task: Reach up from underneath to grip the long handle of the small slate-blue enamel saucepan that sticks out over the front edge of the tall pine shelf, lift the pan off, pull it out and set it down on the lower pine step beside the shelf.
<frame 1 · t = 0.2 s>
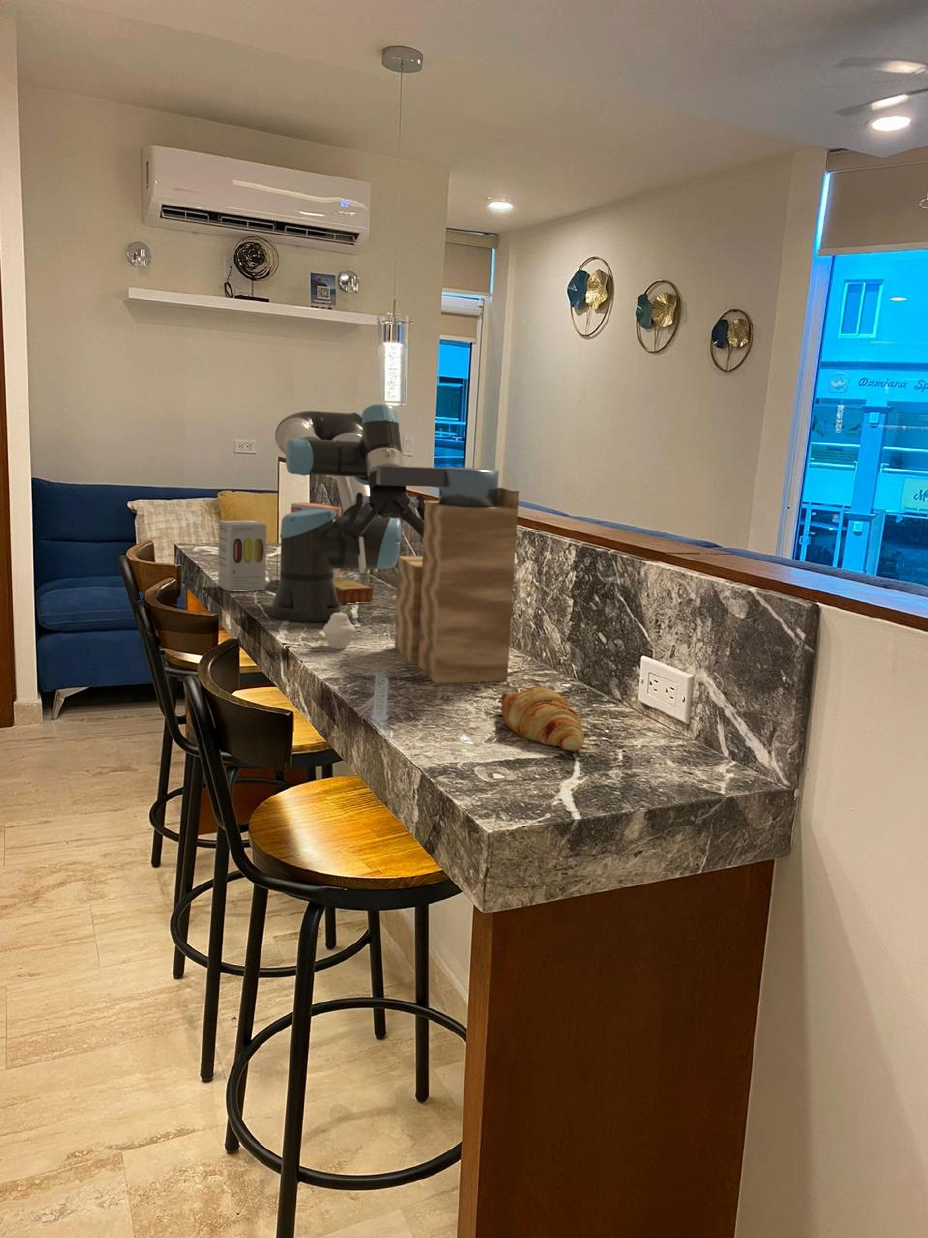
hand: (397, 570, 183), 15 cm above the table, tool tilted 35°, fingers open, 13 cm apart
pine stand: (449, 664, 173), on the table
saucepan: (467, 504, 161), point 30 cm above the table, touching pine stand
supplement box: (241, 589, 236), on the table
white ridged rounded piece: (338, 648, 181), on the table
carton: (343, 600, 231), on the table
croissant: (537, 734, 137), on the table
cracker box: (314, 583, 249), on the table
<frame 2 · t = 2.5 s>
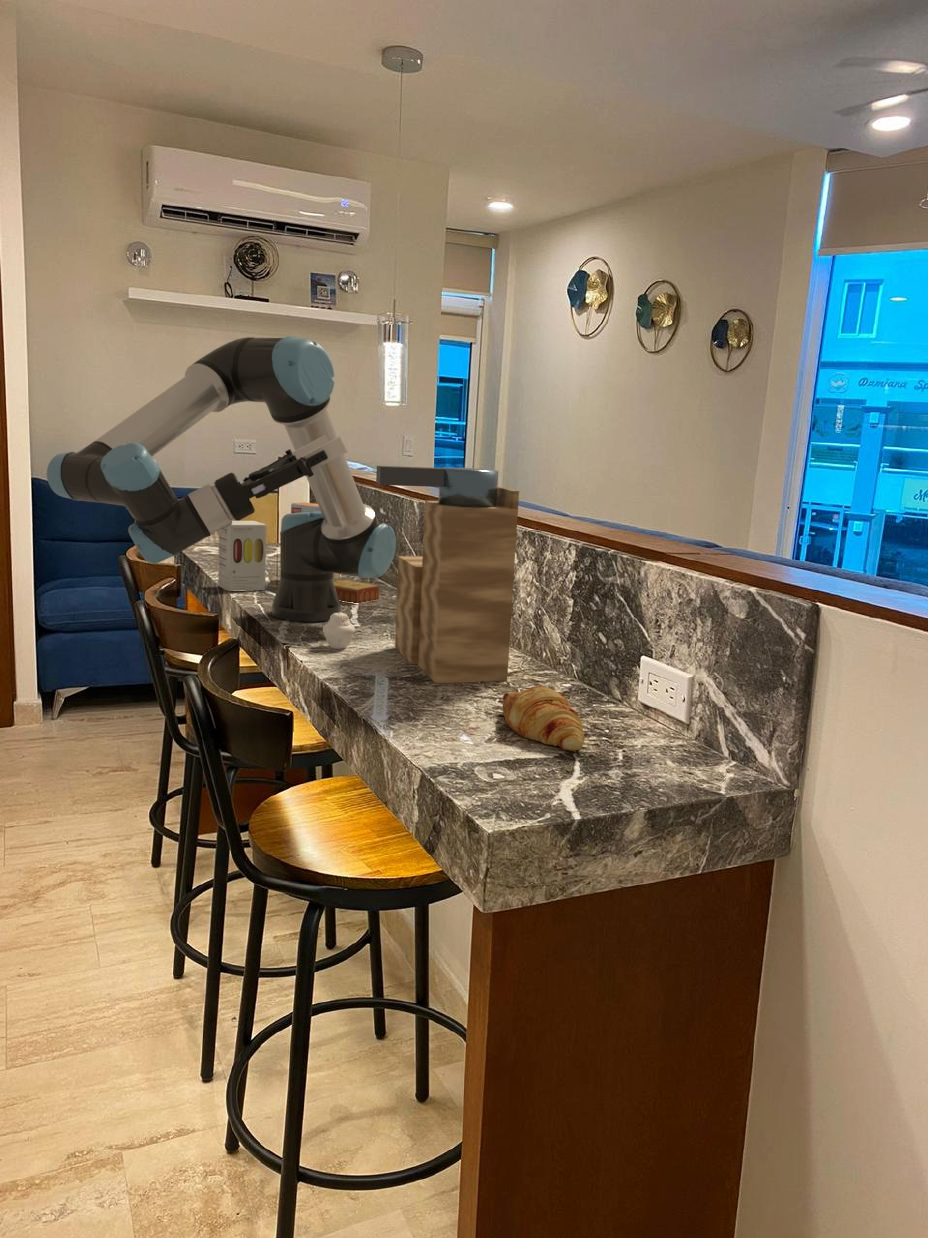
hand: (336, 442, 158), 39 cm above the table, tool pointing upward, fingers open, 13 cm apart
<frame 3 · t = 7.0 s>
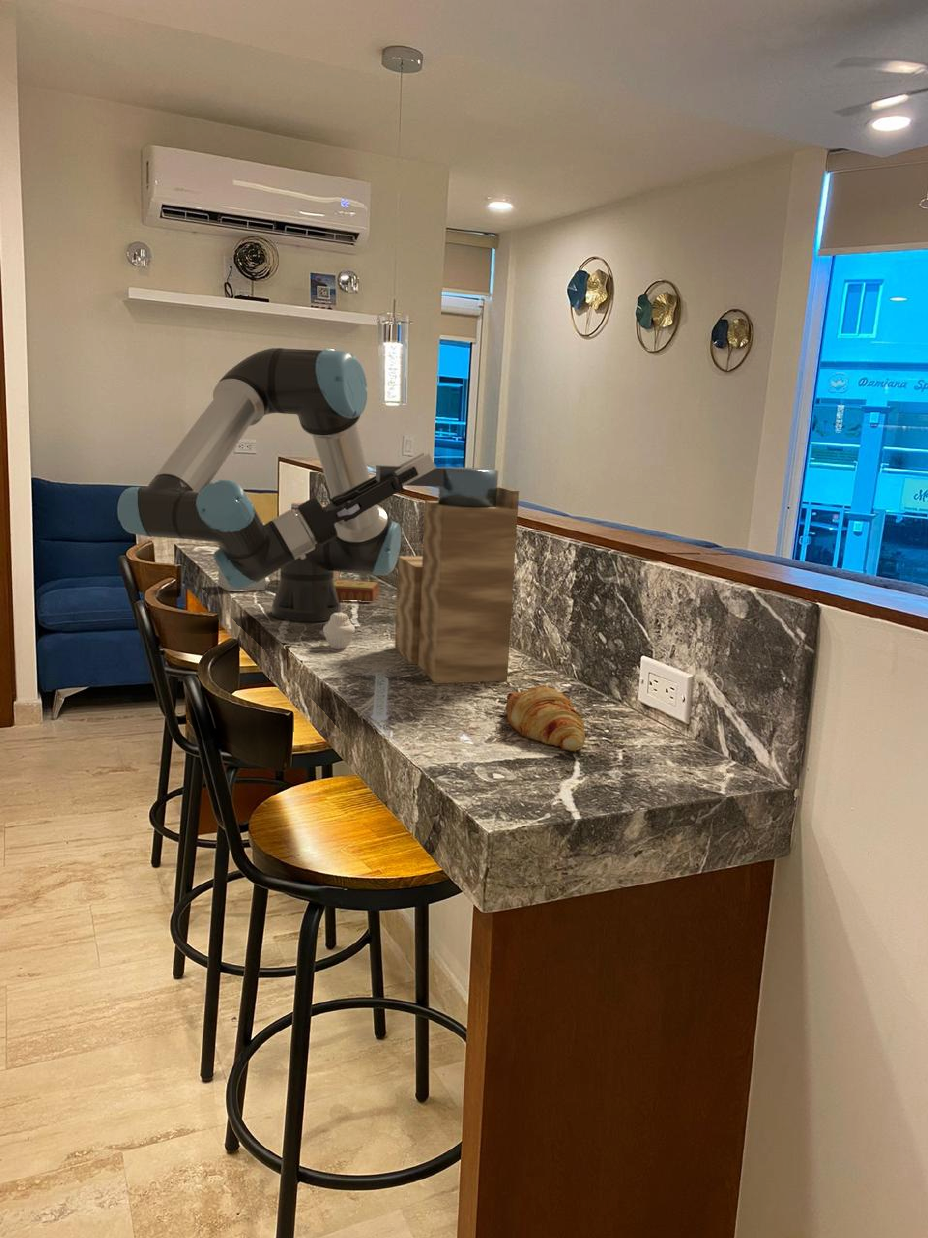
hand: (428, 460, 157), 37 cm above the table, tool pointing upward, fingers closed on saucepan, 3 cm apart
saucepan: (467, 504, 161), point 30 cm above the table, touching gripper
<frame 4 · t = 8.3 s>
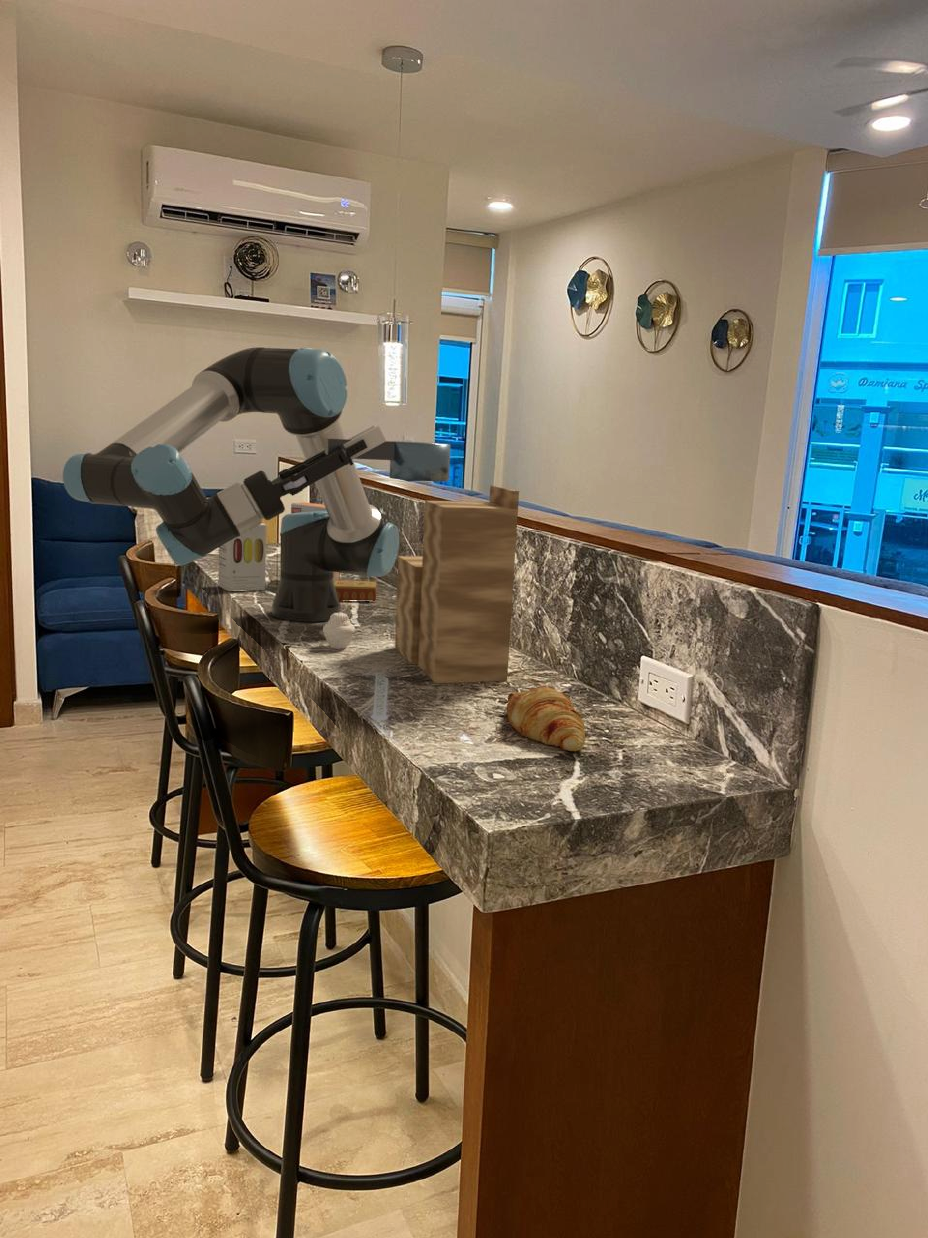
hand: (379, 433, 154), 41 cm above the table, tool pointing upward, fingers closed on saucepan, 3 cm apart
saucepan: (419, 478, 158), point 34 cm above the table, touching gripper
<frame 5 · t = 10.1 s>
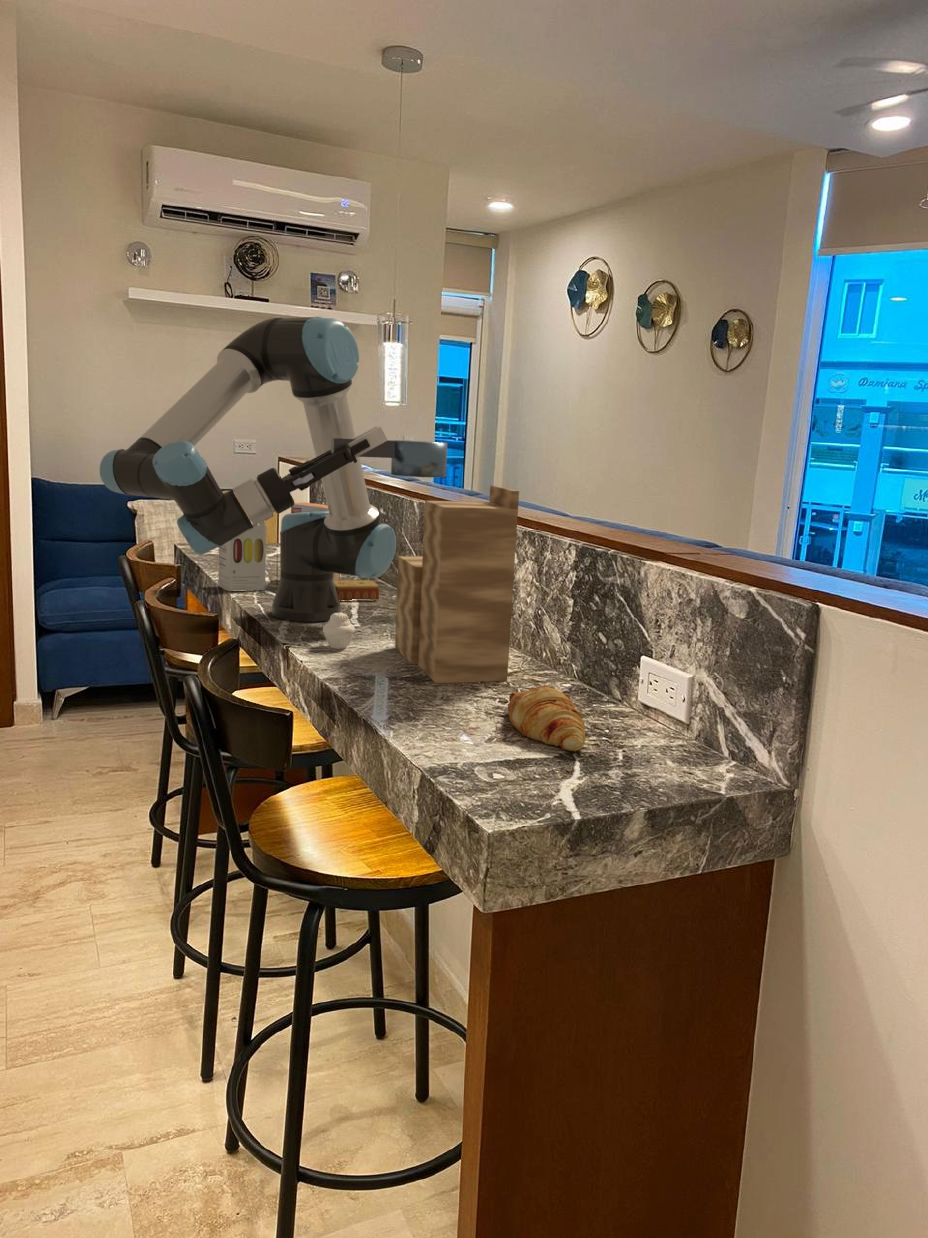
hand: (381, 433, 167), 41 cm above the table, tool pointing upward, fingers closed on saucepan, 3 cm apart
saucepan: (418, 475, 170), point 34 cm above the table, touching gripper
when the fingers open (26 cm above the table, at t = 13.6 s): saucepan drops 1 cm, resting on pine stand.
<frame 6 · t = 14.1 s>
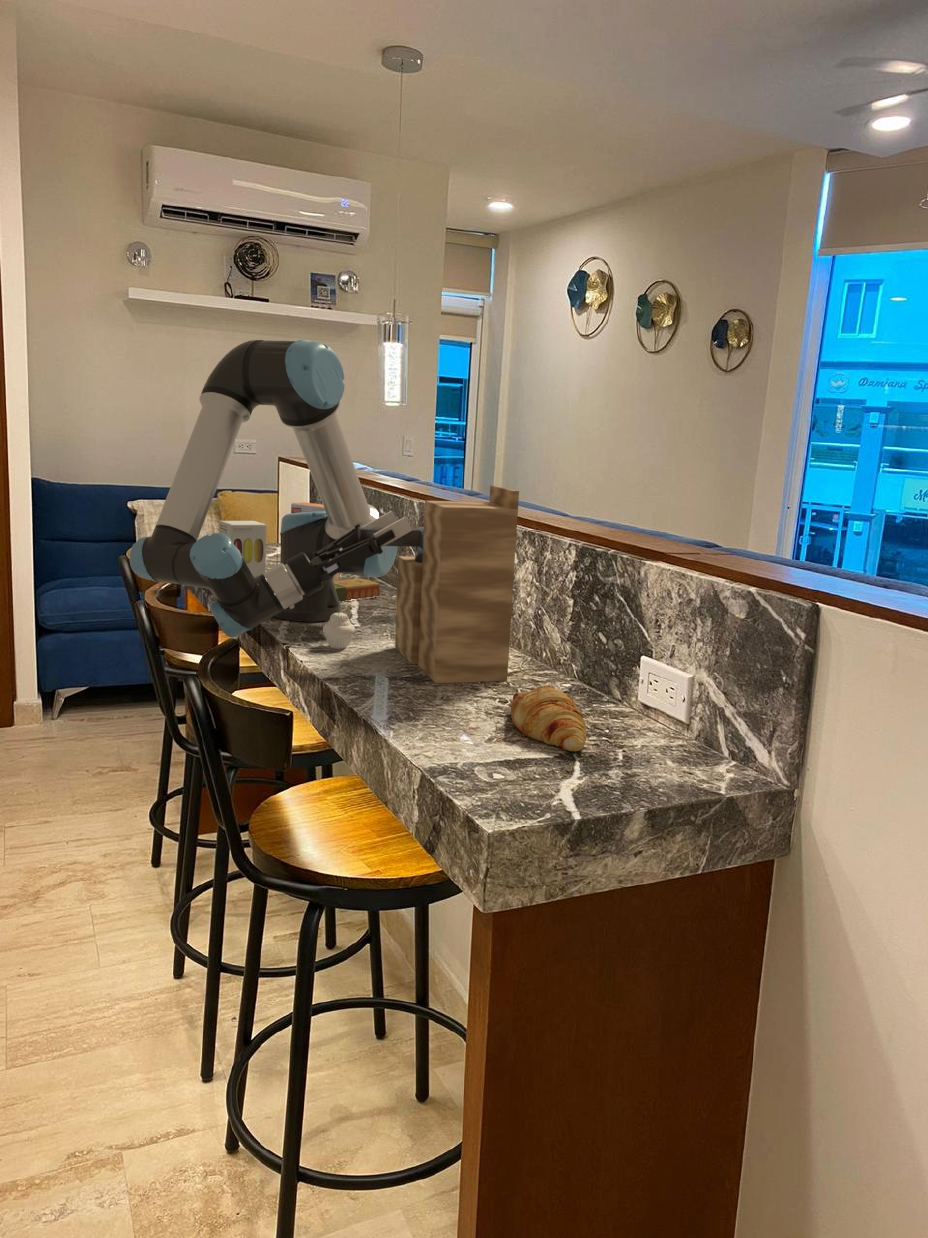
hand: (401, 520, 172), 26 cm above the table, tool pointing upward, fingers open, 10 cm apart
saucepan: (441, 561, 176), point 18 cm above the table, touching pine stand
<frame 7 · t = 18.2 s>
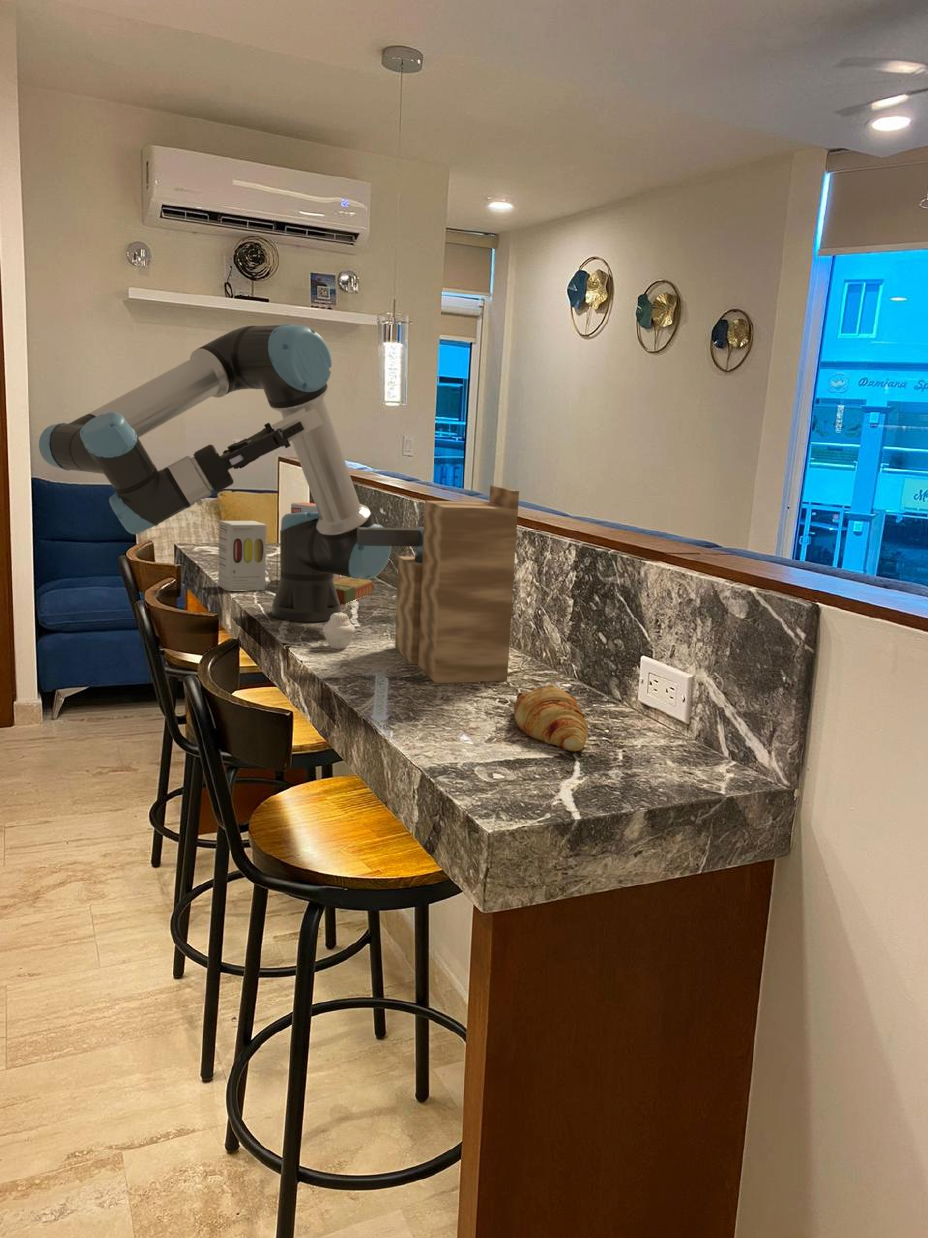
hand: (313, 415, 161), 44 cm above the table, tool pointing upward, fingers open, 13 cm apart
at the end: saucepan inside the target area (0.7 cm from its centre), point 18.0 cm above the table; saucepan tilted 0°; the gripper is holding nothing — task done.
